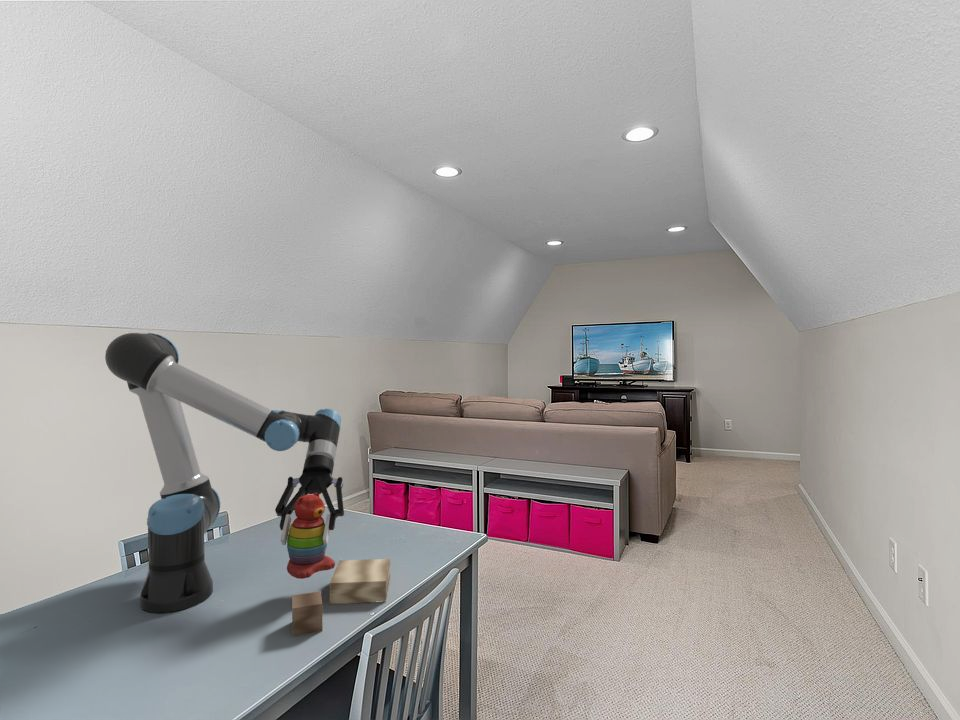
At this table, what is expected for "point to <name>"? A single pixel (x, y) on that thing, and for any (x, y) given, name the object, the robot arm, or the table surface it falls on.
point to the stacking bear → (307, 539)
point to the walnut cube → (306, 613)
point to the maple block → (360, 581)
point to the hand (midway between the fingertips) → (304, 542)
